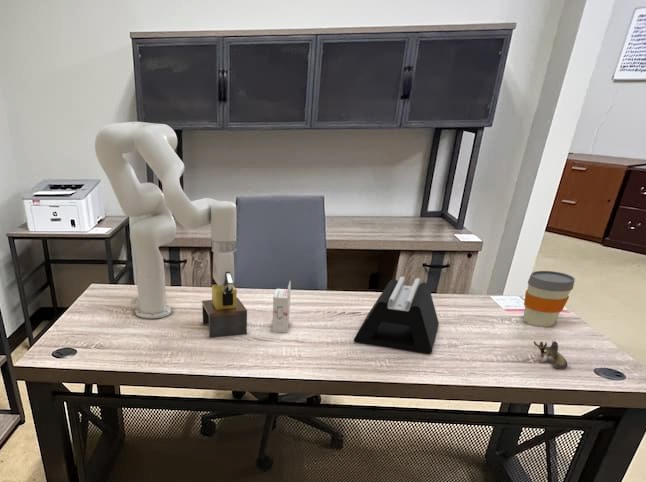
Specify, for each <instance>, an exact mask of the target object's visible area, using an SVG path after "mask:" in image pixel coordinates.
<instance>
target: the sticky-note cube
mask: <svg viewBox="0 0 646 482" xmlns="http://www.w3.org/2000/svg"><path fill="white" fill-rule="evenodd" d="M226 287H228V286H225V288H226ZM232 287H233V305H230V306H223V293H224V292H223V285H221V286H219V285H218V284H217V283H215V284H211V300H212V303H213V305H214V307H215V308H216V310H219V309H230V308H236V298H238V297H237V294H238V293H237V288H236V287H235V286H234V284H233V285H232Z"/></svg>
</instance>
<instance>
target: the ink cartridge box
mask: <svg viewBox="0 0 646 482" xmlns="http://www.w3.org/2000/svg"><path fill="white" fill-rule="evenodd" d="M291 281H292V280H289V282H288V286H287V288H275V291H274V293H273V297H272V327H271V329H272V330H271V331H272V333H288V329H289V323H290V322H289V321H290V311H291V310H290V309H291V308H290V307H291V295H292V293H291V292H292V286H291V285H292V282H291Z"/></svg>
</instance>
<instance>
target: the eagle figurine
mask: <svg viewBox="0 0 646 482" xmlns="http://www.w3.org/2000/svg"><path fill="white" fill-rule="evenodd" d="M533 345H534V346H535V347H537V348H538V350H539V351H540V355H541V357H543V358H542V360H541V363H544V362H547V360H548V359H549V358H553V360H554V365H555V368H557V369H559V370H565V369H566V368H568V362H567V360H566V358H565V357H564V356H563V355H562V354H561V353H560V352H558V351H559V343H558V342H557V341H556V340H554V339H552V340H551V345H550V346H548V342H547V341H545V343H544V341H540V342H539V344H538V342H536V341H535V340H534V341H533Z"/></svg>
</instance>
